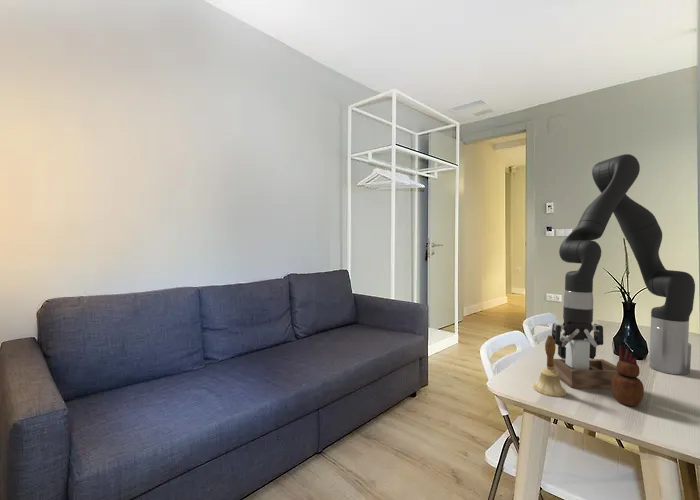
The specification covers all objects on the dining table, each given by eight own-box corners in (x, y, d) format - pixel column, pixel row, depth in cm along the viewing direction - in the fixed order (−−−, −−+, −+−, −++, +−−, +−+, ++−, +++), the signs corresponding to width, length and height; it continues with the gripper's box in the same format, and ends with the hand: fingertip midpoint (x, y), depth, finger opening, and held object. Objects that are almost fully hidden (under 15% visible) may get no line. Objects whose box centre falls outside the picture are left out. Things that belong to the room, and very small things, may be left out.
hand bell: (566, 399, 92) (568, 341, 91) (532, 392, 96) (533, 337, 95) (566, 388, 99) (567, 334, 98) (534, 381, 103) (535, 330, 103)
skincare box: (589, 382, 100) (590, 342, 100) (573, 381, 101) (574, 341, 101) (579, 374, 106) (580, 336, 106) (564, 373, 107) (565, 335, 107)
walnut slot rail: (602, 374, 108) (602, 359, 108) (627, 388, 99) (627, 371, 98) (552, 374, 109) (552, 358, 109) (571, 387, 99) (572, 371, 99)
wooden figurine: (605, 397, 93) (607, 343, 93) (625, 396, 94) (627, 343, 93) (627, 409, 86) (630, 352, 86) (648, 408, 87) (650, 351, 86)
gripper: (593, 303, 106) (591, 354, 107) (547, 303, 107) (546, 353, 107) (611, 308, 99) (609, 362, 100) (561, 308, 99) (560, 362, 100)
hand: (576, 358), depth 103 cm, fingers open, 8 cm apart
